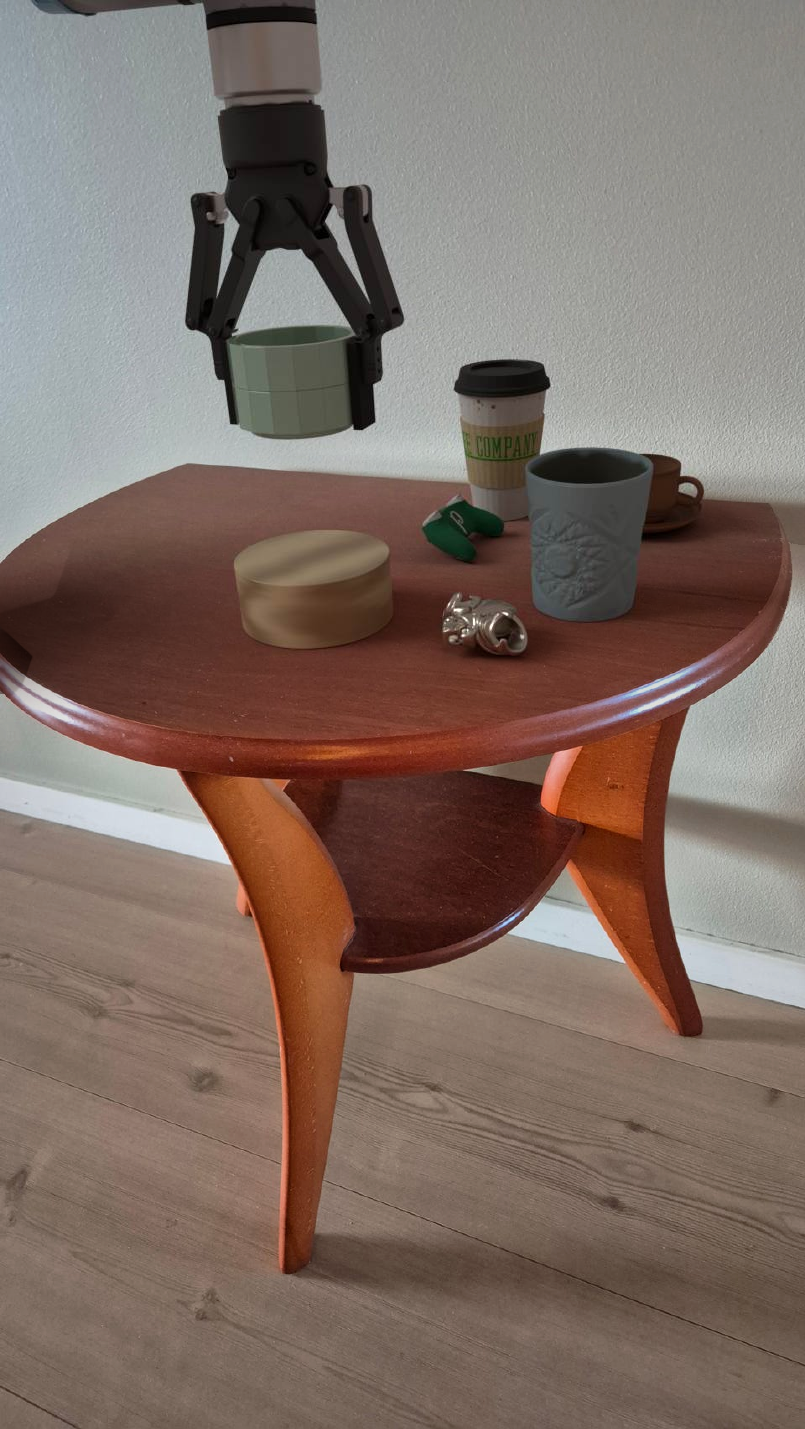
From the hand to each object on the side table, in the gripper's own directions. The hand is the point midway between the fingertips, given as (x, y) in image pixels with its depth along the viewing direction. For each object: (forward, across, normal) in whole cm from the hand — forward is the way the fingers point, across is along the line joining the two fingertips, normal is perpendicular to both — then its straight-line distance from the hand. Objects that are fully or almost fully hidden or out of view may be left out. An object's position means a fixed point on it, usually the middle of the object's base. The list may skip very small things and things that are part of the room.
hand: (302, 423), depth 80 cm
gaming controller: (+16, -8, -16) cm, 24 cm away
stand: (+16, -1, +3) cm, 16 cm away
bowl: (0, 0, 0) cm, 0 cm away
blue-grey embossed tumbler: (+16, -22, -6) cm, 28 cm away
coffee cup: (+16, -9, -28) cm, 33 cm away
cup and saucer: (+16, -24, -27) cm, 39 cm away
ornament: (+16, -16, +5) cm, 23 cm away
